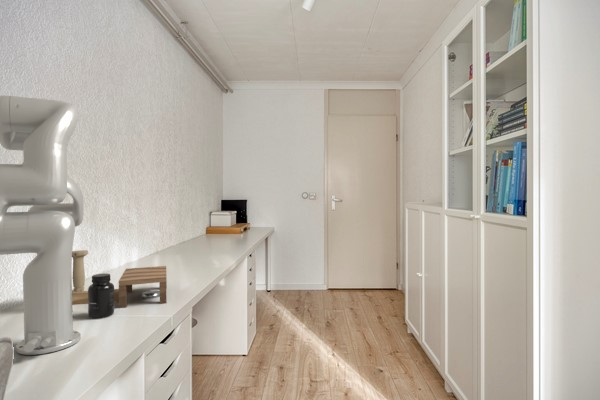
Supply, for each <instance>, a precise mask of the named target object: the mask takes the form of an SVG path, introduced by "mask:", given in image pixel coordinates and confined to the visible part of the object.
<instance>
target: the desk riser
mask: <svg viewBox="0 0 600 400" xmlns="http://www.w3.org/2000/svg"><path fill="white" fill-rule="evenodd" d="M154 283H155V284H157V283H159V291H160V297H159V304H160V305H162V304H167V286H168V285H167V284H168V283H167V265H159V266H148V267H146V266H145V267H144V266H143V267H134V268H133V267H131V268H130V267H129V268H125V270H124V272H122V275H121V276H120V279H119V280H118V289H119V302H118V308H119V309H123V308H127V306H128V304H127V301H128V297H127V296H128V295H127V294H128V293H133V285H134V286H135V285H143V284H144V285H146V284H154Z"/></svg>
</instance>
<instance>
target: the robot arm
mask: <svg viewBox="0 0 600 400" xmlns="http://www.w3.org/2000/svg"><path fill="white" fill-rule="evenodd" d="M78 121H79V113H78V109H77V107H76V106H74V104H71V103H70V102H66V101H61V100H54V99H47V98H46V99H45V98H36V97H35V98H33V97H24V96H15V95H0V145H1V147H2V148H4V149H6V150H8V151H23V153H22V154H23V156H22V157H23V160H22V163H20V164H15V163H14V164H13V163H12V164H11V163H0V256H3V255H5V256H6V255H17V254H18V255H19V254H36V256H35V257H34V258H33V259H32V260H31V261H30V262H29V263H28V264H27V265H26V267H25V268H24V271H23V274H22V288H23V291H22V294H23V338H24V339H22V340H20V341H19V342H18V343H17V344H16V345H15V352H16V353H18V354H20V355H26V356H33V355H35V356H36V355H42V354H49V353H53V352H56V351H57V352H58V351H61V350H63V349H64V350H65V349H67V348H69V347H71V346H73V345H75V344H77V343H78V342H79V341H80V340H81V333H80V332H79V331H77V330H74V329H73V328H74V327H73V326H74V323H73V322H74V321H73V320H74V319H73V305H72V292H73V258H72V251H73V246H74V240H75V232H76V227H78V226H80V225H82V223H83V220H84V195H83V192H82V190H81V188H80V187H79V185H78V183H76V181H75V180H74V179H73V178H71V177H70V176H69V175H68V157H67V152H68V145H69V142H70V140H71V138H72V136H73V134H74V132H75V130H76V128H77V125H78ZM67 194H68V195H69V196H70V197H71V198H72V202H70V203H67V202H66V203H65V202H64V201H65V199H66V198H67ZM63 202H64V203H63ZM18 206H20V207H23V206H24V207H25V206H26V207H27V206H29V207H30V206H31V207H30V208H29V209H28V210H27V211H8V209H10V208H11V207H18Z"/></svg>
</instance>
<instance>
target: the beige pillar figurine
mask: <svg viewBox="0 0 600 400" xmlns="http://www.w3.org/2000/svg"><path fill="white" fill-rule="evenodd" d="M88 254H89V251H88V249H87V250H85V249H84V250H72V288H73V292H77V291H85V283H86V282H85V280H86V279H85V278H86V275H85V272H86V271H85V263H84V262H85V261H84V258H85V256H87V255H88Z"/></svg>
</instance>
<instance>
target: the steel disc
mask: <svg viewBox="0 0 600 400" xmlns="http://www.w3.org/2000/svg"><path fill="white" fill-rule="evenodd" d="M141 298H142V299H144V300H152V299H157V298H160V290H148V291H145V292H142V293H141Z"/></svg>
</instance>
